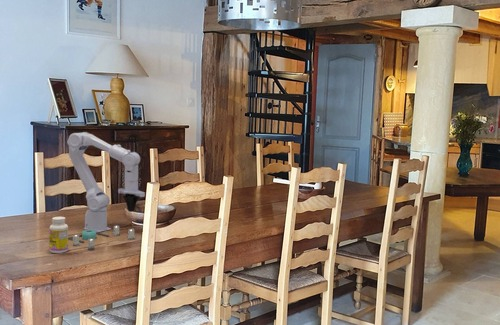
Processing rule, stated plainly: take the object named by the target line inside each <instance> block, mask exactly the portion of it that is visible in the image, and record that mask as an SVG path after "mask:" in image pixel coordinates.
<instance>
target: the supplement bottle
mask: <svg viewBox="0 0 500 325" xmlns="http://www.w3.org/2000/svg"><path fill="white" fill-rule="evenodd" d="M51 222H52V224H50V226H49V231H48V232H49V234H48V235H49V238H48V239H49V243H48V244H49V246H48V247H49V252H50V253H53V254H62V253H66V252H67V251H68V250H69V239H68V237H69V225H68V224H67V223H66V217H64V216H53V217H52V218H51Z"/></svg>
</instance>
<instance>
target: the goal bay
mask: <svg viewBox="0 0 500 325" xmlns="http://www.w3.org/2000/svg"><path fill="white" fill-rule="evenodd" d="M78 235H79V238H82V234H78ZM101 235H102V236H101ZM96 236H101V237H107V238H109V237H110V235H109V234H105V233H101V232H96ZM69 240H70V241H73V236H68V241H69ZM84 243H85V240H81V239H79V244H84Z"/></svg>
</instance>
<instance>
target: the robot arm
mask: <svg viewBox="0 0 500 325" xmlns="http://www.w3.org/2000/svg"><path fill="white" fill-rule="evenodd" d="M66 143H67V145H68V156H69V159H70V161H71V163H72V164H73V167H74V169H75V171H76V172H77V174H78V177H79V179H80V181H81V183H82V185H83V187H84V189H85V191H86V194H85V198H86V203H87V204H86V206H87V207H88V209H87V210H86V212H85V213H84V227H83V230H95V231H96V232H98V233H101V232H105V231H109V230H112V228H111V227H108V205H109V204H110V202H111V201H110V197H109V196H108V195H107V194H106V193H105V191H104V190H103V189H102V188H101V187H99V185H98V183H97V181H96V179H95V177H94V175H93V173H92V170H91V169H90V167H89V165H88V163H87V161H86V159H85V157H84V154H85V151H86V150H87V148H88V147H89V146H93V147H95V148H97V149H100V150H101V151H104V152H106V153H108V155H109V157H111V158H113V159H115V160H117V161H118V162H120V163H122V164H123V166H124V188H122V187H121V188H118V190H117V192H118V194H124V195H122V196H123V199H124V200H125V204H126V206H127V211H128V212H129V213H131V212H134V211H135V208H136V205H137V202H138V201H139V199H140V198H145V196H146V191H145V192H144V191H141V190H139V164H140V162H141V156H140V155H139V153H137V152H136V151H131V150H130V149H126V148H124V147H122V145H121V144H113V145H112V144H109V143H108V142H106V141H104V140H102V139H100V138H99V137H97V136H95V135H94V134H93V133H89V132H87V131H83V132H73V133H71V134H70V135H69V136H68V139H67V142H66Z"/></svg>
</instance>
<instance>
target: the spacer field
mask: <svg viewBox="0 0 500 325" xmlns="http://www.w3.org/2000/svg"><path fill="white" fill-rule="evenodd" d="M112 231H113V235H112V236H114V237H119V236H120V225H117V224H116V225H113V230H112ZM127 233H128V235H127V237H128V240H135V228H128V232H127ZM79 235H80V234H73V235H72V237H73V240H72V246H73V247H79V246H80V242H79V240H80V237H79ZM118 235H119V236H118ZM95 240H96V239H94V238H90V239H88V240H87V250H89V251H93V250H95Z"/></svg>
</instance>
